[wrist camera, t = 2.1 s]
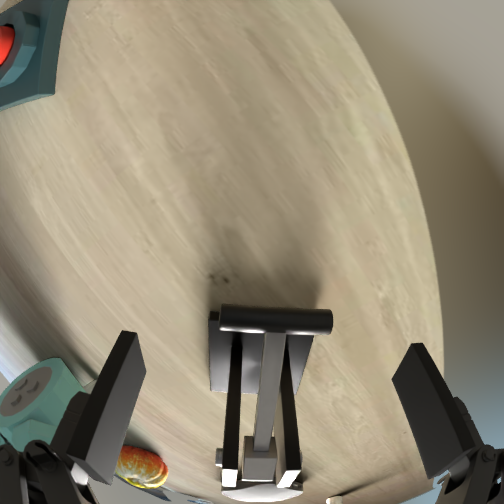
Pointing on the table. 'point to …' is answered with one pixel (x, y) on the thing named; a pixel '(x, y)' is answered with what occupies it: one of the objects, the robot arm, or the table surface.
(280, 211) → the table surface
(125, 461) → the fruit
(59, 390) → the alarm clock
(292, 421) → the bracket
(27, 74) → the button box
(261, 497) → the media streaming box
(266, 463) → the lever
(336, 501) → the pill bottle
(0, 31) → the button
